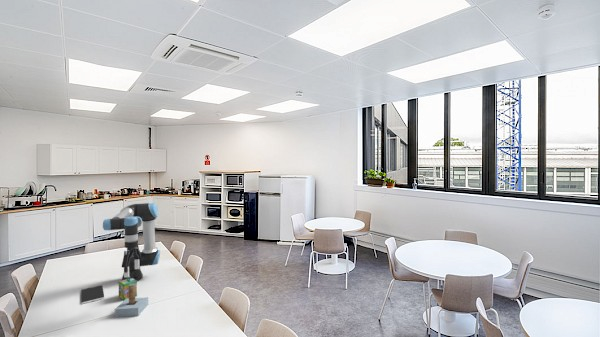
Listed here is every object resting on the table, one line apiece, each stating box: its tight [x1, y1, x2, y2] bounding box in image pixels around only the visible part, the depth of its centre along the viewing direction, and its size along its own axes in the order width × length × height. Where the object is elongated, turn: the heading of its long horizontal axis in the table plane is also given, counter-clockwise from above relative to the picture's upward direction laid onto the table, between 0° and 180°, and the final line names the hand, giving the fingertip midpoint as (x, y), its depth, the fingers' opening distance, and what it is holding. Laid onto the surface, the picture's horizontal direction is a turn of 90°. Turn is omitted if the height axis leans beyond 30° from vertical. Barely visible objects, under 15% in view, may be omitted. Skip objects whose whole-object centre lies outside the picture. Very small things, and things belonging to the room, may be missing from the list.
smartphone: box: [80, 284, 105, 305], centre depth 208 cm, size 13×27×2 cm, turn 38°
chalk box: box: [118, 276, 138, 302], centre depth 204 cm, size 9×9×15 cm
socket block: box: [114, 297, 149, 318], centre depth 184 cm, size 14×14×5 cm
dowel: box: [129, 285, 136, 305], centre depth 184 cm, size 4×4×16 cm
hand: (132, 272), depth 184 cm, fingers open, 13 cm apart
